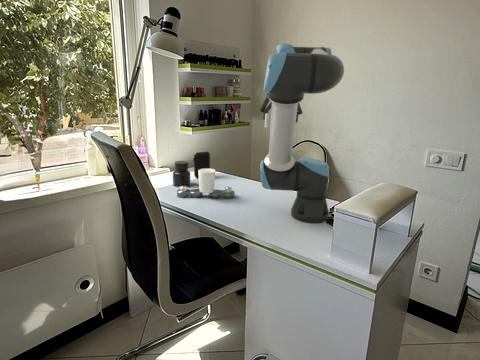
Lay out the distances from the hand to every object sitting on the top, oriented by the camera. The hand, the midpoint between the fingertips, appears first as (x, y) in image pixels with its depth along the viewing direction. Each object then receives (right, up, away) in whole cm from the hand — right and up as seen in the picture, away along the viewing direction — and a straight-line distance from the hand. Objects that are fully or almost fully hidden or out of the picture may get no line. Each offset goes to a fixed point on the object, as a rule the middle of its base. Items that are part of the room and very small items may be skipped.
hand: (279, 128), depth 151 cm
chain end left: (-42, -32, 0) cm, 53 cm away
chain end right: (-27, -32, 0) cm, 42 cm away
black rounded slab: (-40, -23, +31) cm, 56 cm away
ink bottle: (-49, -27, +17) cm, 59 cm away
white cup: (-34, -30, -1) cm, 45 cm away
